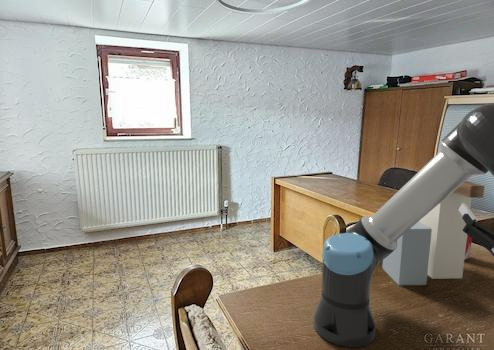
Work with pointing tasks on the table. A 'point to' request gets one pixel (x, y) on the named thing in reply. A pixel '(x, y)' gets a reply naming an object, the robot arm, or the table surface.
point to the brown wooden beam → (470, 190)
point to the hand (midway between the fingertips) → (485, 206)
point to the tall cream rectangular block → (447, 237)
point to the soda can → (468, 247)
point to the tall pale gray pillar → (410, 257)
